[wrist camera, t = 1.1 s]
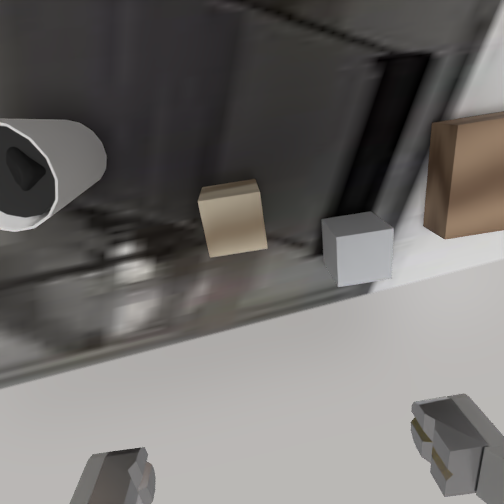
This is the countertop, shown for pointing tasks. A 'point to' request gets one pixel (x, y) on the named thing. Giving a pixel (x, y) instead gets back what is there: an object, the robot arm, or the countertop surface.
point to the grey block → (357, 248)
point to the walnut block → (466, 176)
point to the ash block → (232, 218)
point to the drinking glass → (44, 168)
